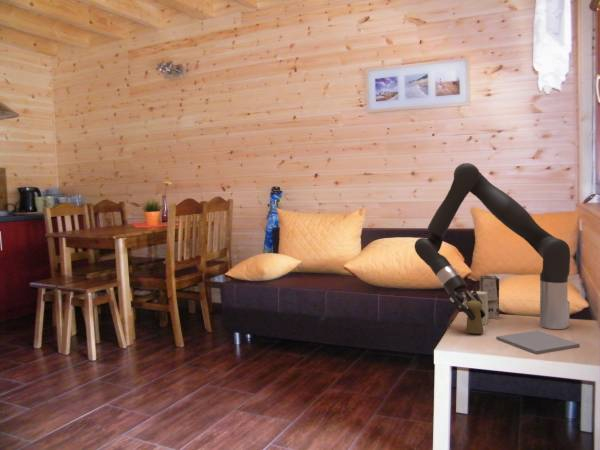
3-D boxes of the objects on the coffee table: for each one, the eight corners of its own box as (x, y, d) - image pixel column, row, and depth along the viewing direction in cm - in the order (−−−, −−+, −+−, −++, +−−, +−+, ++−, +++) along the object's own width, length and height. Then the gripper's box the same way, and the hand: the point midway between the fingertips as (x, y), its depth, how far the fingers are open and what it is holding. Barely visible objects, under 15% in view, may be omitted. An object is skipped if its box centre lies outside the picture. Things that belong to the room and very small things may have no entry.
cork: (474, 334, 183) (474, 303, 183) (462, 330, 189) (461, 300, 188) (487, 331, 186) (486, 301, 185) (474, 327, 192) (474, 298, 191)
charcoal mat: (536, 333, 186) (536, 330, 186) (579, 346, 169) (579, 343, 169) (496, 339, 180) (496, 336, 180) (536, 354, 163) (536, 351, 163)
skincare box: (488, 322, 202) (488, 291, 201) (485, 325, 198) (485, 293, 197) (472, 320, 205) (471, 290, 204) (469, 323, 201) (469, 292, 201)
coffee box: (499, 319, 207) (499, 279, 206) (482, 318, 208) (482, 278, 207) (495, 313, 216) (495, 275, 215) (479, 313, 217) (479, 275, 216)
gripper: (444, 276, 188) (472, 315, 179) (469, 272, 196) (497, 308, 187) (433, 289, 193) (460, 327, 184) (457, 284, 201) (484, 320, 192)
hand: (478, 317), depth 186 cm, fingers closed on cork, 5 cm apart
